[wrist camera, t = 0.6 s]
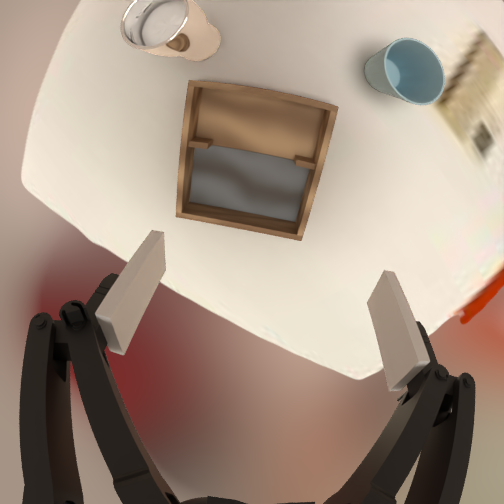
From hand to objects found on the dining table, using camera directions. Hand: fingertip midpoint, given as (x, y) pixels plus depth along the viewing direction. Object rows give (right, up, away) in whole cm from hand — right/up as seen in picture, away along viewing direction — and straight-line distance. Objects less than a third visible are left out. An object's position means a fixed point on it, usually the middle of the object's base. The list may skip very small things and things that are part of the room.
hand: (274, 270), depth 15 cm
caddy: (-1, +15, +21) cm, 25 cm away
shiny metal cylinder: (-8, +29, +12) cm, 33 cm away
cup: (+16, +25, +12) cm, 32 cm away
